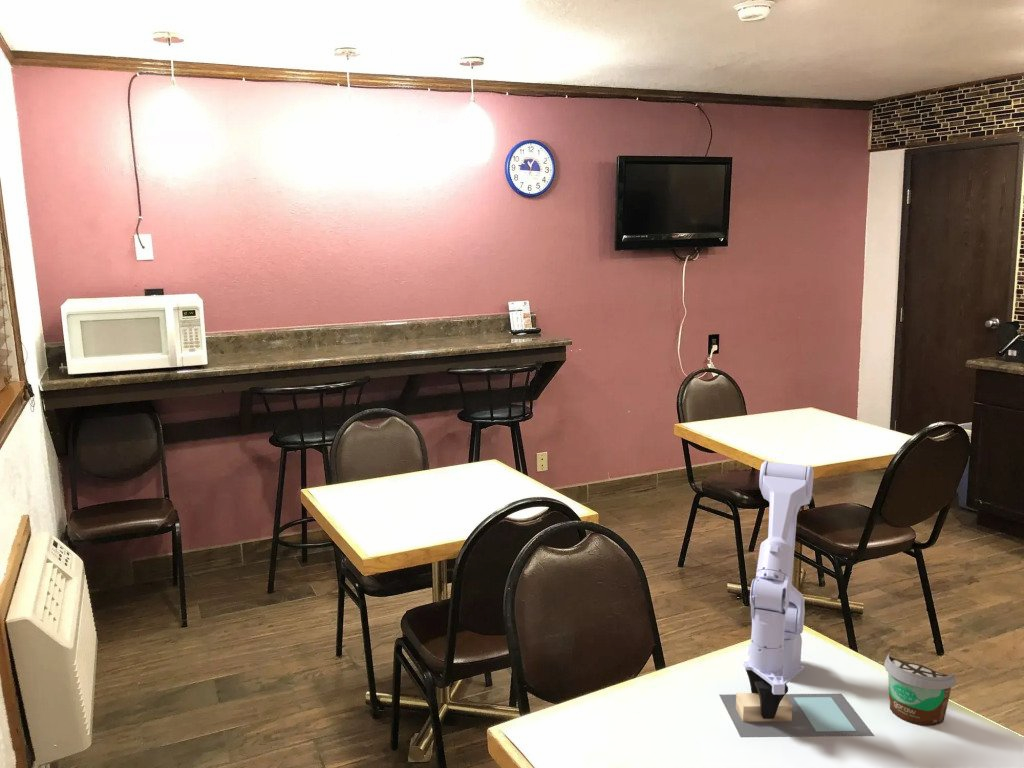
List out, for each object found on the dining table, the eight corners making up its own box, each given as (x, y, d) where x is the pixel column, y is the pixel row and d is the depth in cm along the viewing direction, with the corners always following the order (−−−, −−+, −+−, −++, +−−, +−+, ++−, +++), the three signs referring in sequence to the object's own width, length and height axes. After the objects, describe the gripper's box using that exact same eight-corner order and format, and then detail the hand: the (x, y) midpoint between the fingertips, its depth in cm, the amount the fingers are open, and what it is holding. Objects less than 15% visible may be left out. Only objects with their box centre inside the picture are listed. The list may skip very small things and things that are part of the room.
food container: (871, 712, 153) (875, 662, 151) (882, 699, 157) (886, 650, 156) (942, 738, 144) (947, 686, 143) (952, 724, 149) (957, 673, 147)
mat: (841, 695, 158) (841, 693, 158) (874, 738, 144) (874, 735, 144) (719, 696, 158) (719, 694, 158) (740, 739, 144) (740, 736, 144)
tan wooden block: (783, 707, 153) (783, 692, 153) (791, 721, 149) (792, 706, 148) (735, 708, 153) (736, 693, 153) (742, 721, 149) (743, 706, 148)
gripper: (734, 623, 156) (730, 689, 158) (758, 661, 141) (754, 732, 144) (770, 623, 156) (766, 689, 158) (798, 661, 142) (793, 732, 144)
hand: (763, 710), depth 151 cm, fingers closed on tan wooden block, 4 cm apart
